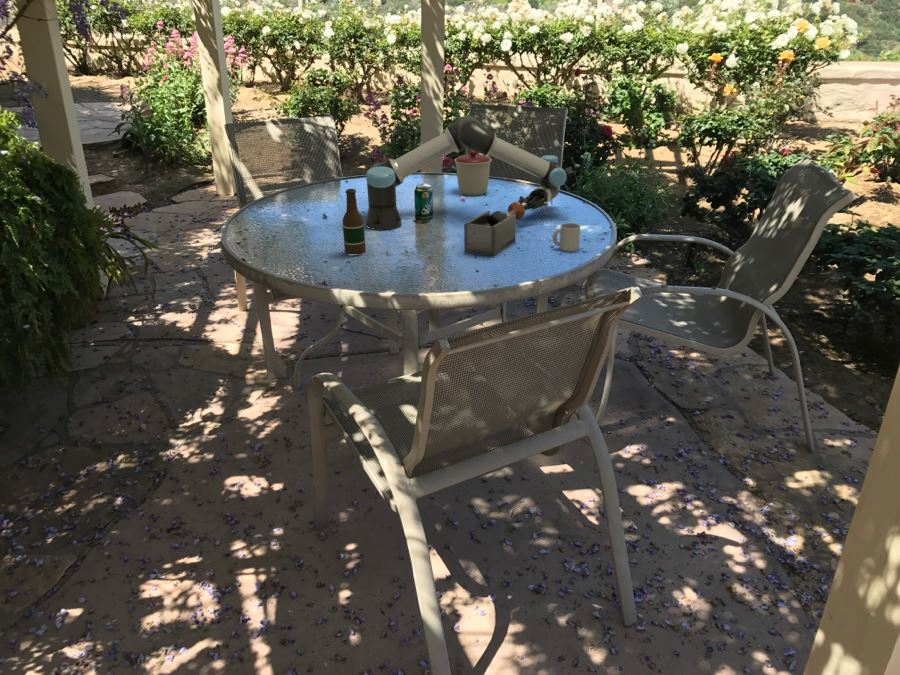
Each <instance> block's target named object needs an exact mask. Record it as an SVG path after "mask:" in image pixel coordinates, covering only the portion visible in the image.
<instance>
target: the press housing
mask: <svg viewBox="0 0 900 675" xmlns="http://www.w3.org/2000/svg"><path fill="white" fill-rule="evenodd" d="M490 216H491V211H490V210H486V211H484V212H482V213H481V214H479V215H477V216H475V217H474V218H472V219H471V220H468V221H467V222H465V223H463V226H464V227H463V228H464V232H463V233H464V235H463V236H464V237H463V238H464V240H463V241H464V247H463V248H464V253H465V252H467V253H466V254H470V253H473V254H472V255H477V254H479V255H478V256H485V257H492V258H495V257H496V256H497V255H499V254H500V253H502V252H503V251H505V250H507V249H508V248H509V247H510V246H511V245H513V244H515V243H516V230H517V229H516V228H517V227H516V225H517V224H516V223H517V220H516V214H512V215H510V216H509V217H507V218H505V219H504V220H502V221H501V222H499V223H497V224H496V225H494V226H490V224H489V218H490ZM504 249H505V250H504ZM501 251H502V252H501ZM498 253H499V254H498ZM494 256H495V257H494Z"/></svg>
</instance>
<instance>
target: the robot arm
mask: <svg viewBox="0 0 900 675" xmlns="http://www.w3.org/2000/svg"><path fill="white" fill-rule="evenodd" d="M466 149H467V150H469V151H470V150H472V151H475V152H477V153H478V154H480V155H485V156H488V155H489V156H492V157H493V158H496V159H497V160H501V162H502V161H503V162H504V163H507V164H509V165H511V166H513V167H515V168H517V169H520V170H521V171H523V172H526V173H528V174H530V175H532V176H534V177H537V178H538V179H539V187H537V188H535V189H533V190H532V191H531V192H530V193H529V195H528V196H526V197H524V196H522V195H521V196H519V199H518V201H517V202H519V203H521V204H522V205H523V206H524V208H525V211H527V210H532V211H534V210H537V209H539V208H542V207H545V206H548V203H549V202H550V201H553V199H555V198H556V197H557V196H558V195H559V193H560V187H561V186H563V185H565V183H566V182H567V179H568V178H567V177H568V176H567V173H566V171H565V169H564V168H563V167H562V168H561V167H560V165H558V164H559V158H558V156H556V155H549V154H547V155H543V156H541V157H539V156H537V155H535V154H533V153H531V152H530V151H526V150H524V149H522V148H520V147H518V146H516V145H514V144H512V143H510V142H507V141H505V139H504V140H503V139H501V138H499V137H497V135H496V133H495V132H494V131H493V132H492V131H491V130H489V128H487V127H485V126H484V125H483V124H482V123H481V122H480V120H478V119H477V118H476V117H474V116H472V115H464V116H460V117H459V118H458V119H456V120H455V122H454V123H452V124H450V125H448V126H447V127H446V128H445V130H444V132H443V133H441V134H440V135H438V136H436V137H434V138H432V139H430V140H428V141H427V142H425V143H423V144H421V145H419V146H418V147H415V148H414V149H412V150H411V151H408V152H407V153H405V154H403V155H401V156H399V157H397V158H396V159H393V158H387V159H385V161H383V162H379V163H375V164H373V165H371V167H370V168H369V169H368V170H367V171H366V176H365V180H366V187H367V189H366V190H367V203H368V209H367V213H366V216H365V223H364V224H365V227H366V226H368V227H370V228H374V229H390V230H393V229H392V228H395V229H398V228H400V227H401V226H402V224H403V223H402V217H401V214H400V212H399V210H398V207H397V206H398V205H397V191H396V190H397V187H398V186H400V185H401V184H403V183H404V181H405V178H407V177H409V176H411V175H413V174H414V173H416V172H418V171H420V170H422V169H423V168H425V167H427V166H429V165H431V164H433V163H434V162H436V161H438V160H440V159H442V158H444V157H446V156H447V155H450V154H452V153H454V152H456V153H460V152H463V151H464V150H466ZM397 227H398V228H397Z"/></svg>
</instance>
